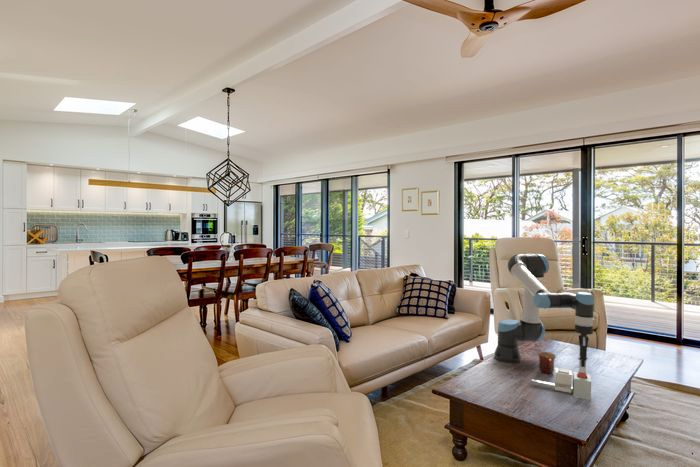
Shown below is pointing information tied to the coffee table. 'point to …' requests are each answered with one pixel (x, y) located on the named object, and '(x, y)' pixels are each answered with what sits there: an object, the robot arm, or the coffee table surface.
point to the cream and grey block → (563, 379)
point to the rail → (546, 385)
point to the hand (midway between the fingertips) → (582, 372)
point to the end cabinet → (582, 386)
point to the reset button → (582, 375)
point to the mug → (546, 362)
